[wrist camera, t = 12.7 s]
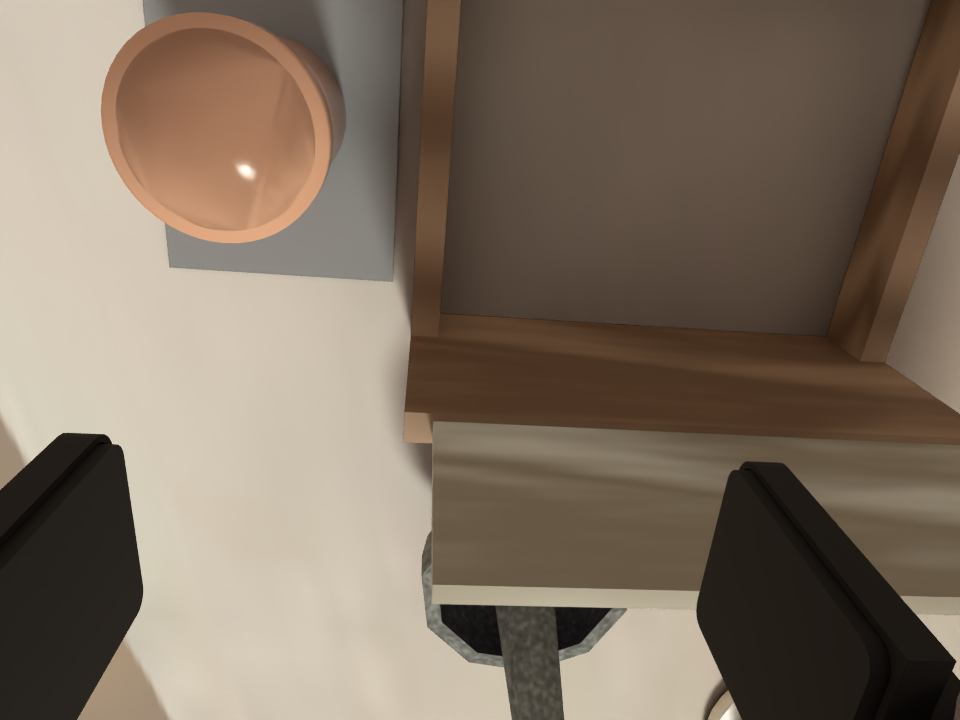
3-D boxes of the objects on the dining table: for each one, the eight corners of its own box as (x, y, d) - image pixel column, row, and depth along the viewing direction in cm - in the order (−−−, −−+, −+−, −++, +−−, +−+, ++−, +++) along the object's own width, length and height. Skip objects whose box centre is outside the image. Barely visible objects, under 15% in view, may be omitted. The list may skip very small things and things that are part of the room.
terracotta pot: (354, 201, 30) (328, 250, 23) (195, 189, 29) (116, 235, 22) (357, 30, 27) (328, 24, 20) (181, 13, 27) (85, 0, 19)
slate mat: (393, 280, 32) (392, 281, 32) (171, 266, 31) (169, 267, 31) (405, -69, 26) (405, -70, 26) (134, -99, 25) (132, -100, 25)
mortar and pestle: (418, 432, 35) (410, 602, 24) (597, 418, 36) (669, 580, 25) (435, 598, 40) (435, 804, 29) (594, 585, 40) (653, 783, 29)
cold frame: (841, 359, 35) (1201, 628, 19) (411, 335, 33) (389, 612, 17) (987, -84, 27) (1830, -295, 11) (436, -151, 25) (438, -537, 9)
